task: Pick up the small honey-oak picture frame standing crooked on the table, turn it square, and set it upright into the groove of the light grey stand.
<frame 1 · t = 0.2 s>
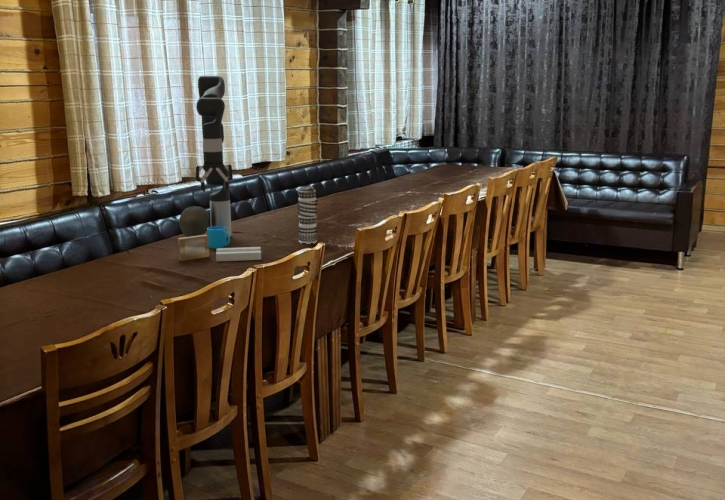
hand: (214, 191, 266), 28 cm above the table, tool pointing down, fingers open, 8 cm apart
picture frame: (194, 258, 276), on the table
notched stand: (238, 257, 277), on the table
decorative candle: (308, 242, 305), on the table
mug: (220, 247, 296), on the table
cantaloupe: (195, 239, 311), on the table
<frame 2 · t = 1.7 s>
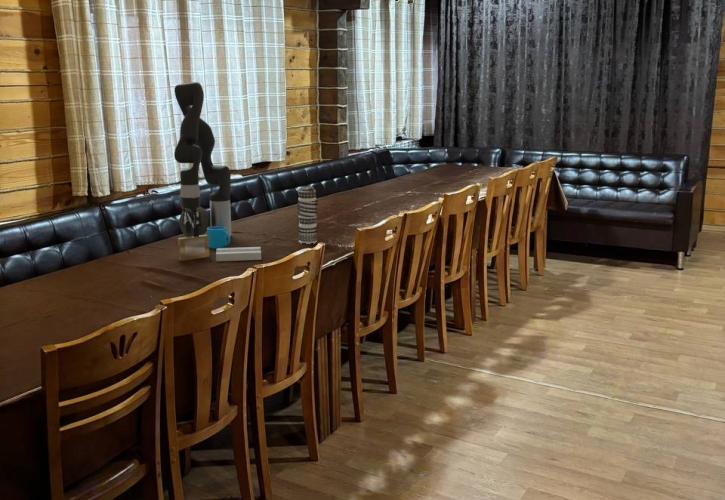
hand: (192, 235, 273), 10 cm above the table, tool pointing down, fingers open, 8 cm apart
nothing on the table moved.
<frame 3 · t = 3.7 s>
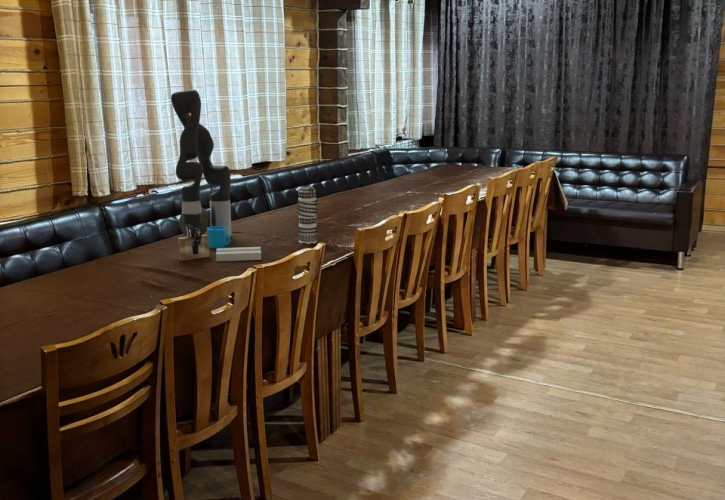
hand: (194, 253, 275), 2 cm above the table, tool pointing down, fingers closed on picture frame, 2 cm apart
picture frame: (194, 258, 276), on the table, touching gripper
everything else where it was.
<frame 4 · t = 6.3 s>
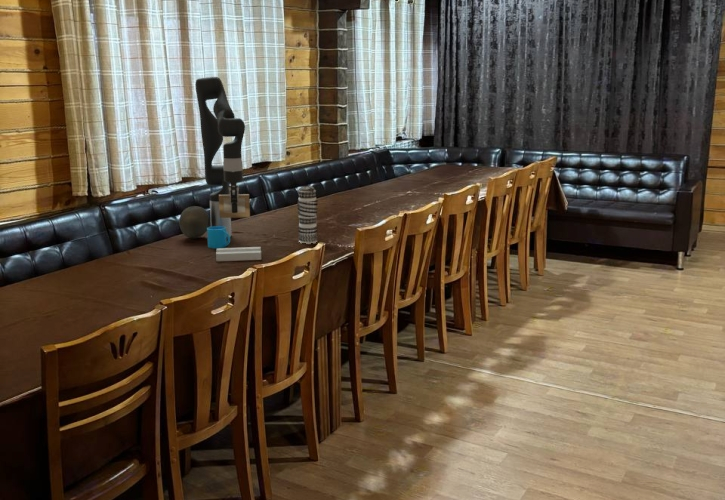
hand: (234, 211, 272), 19 cm above the table, tool pointing down, fingers closed on picture frame, 2 cm apart
picture frame: (234, 216, 273), point 17 cm above the table, touching gripper
everything else where it was.
when the fingers open (4 cm above the table, at t = 8.9 s): picture frame stays where it is, resting on notched stand.
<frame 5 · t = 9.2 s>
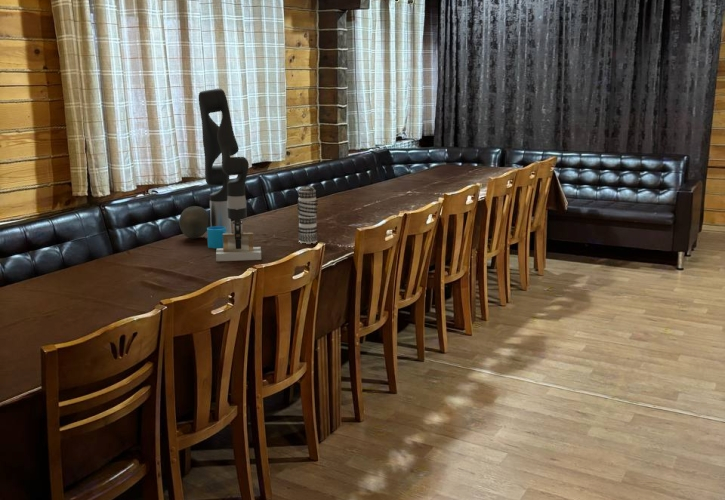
hand: (238, 246, 276), 4 cm above the table, tool pointing down, fingers open, 5 cm apart
picture frame: (238, 254, 277), point 1 cm above the table, touching notched stand
everything else where it was.
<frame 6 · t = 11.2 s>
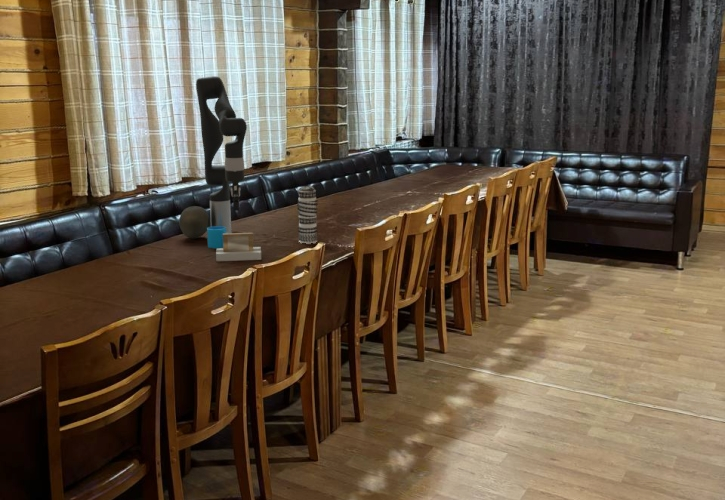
hand: (236, 208, 273), 20 cm above the table, tool pointing down, fingers open, 8 cm apart
nothing on the table moved.
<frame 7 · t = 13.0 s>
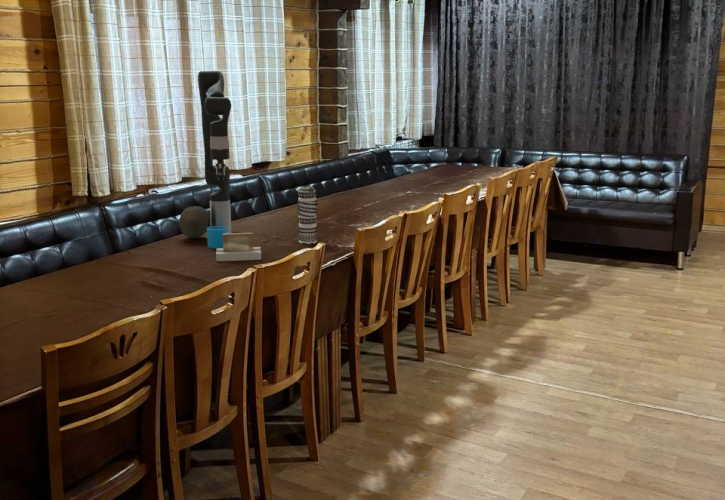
hand: (221, 186, 278), 28 cm above the table, tool pointing down, fingers open, 8 cm apart
nothing on the table moved.
at the end: picture frame inside the target area on the notched stand (0.2 cm from its centre), point 1.0 cm above the notched stand's base; picture frame tilted 0°; the gripper is holding nothing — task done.
